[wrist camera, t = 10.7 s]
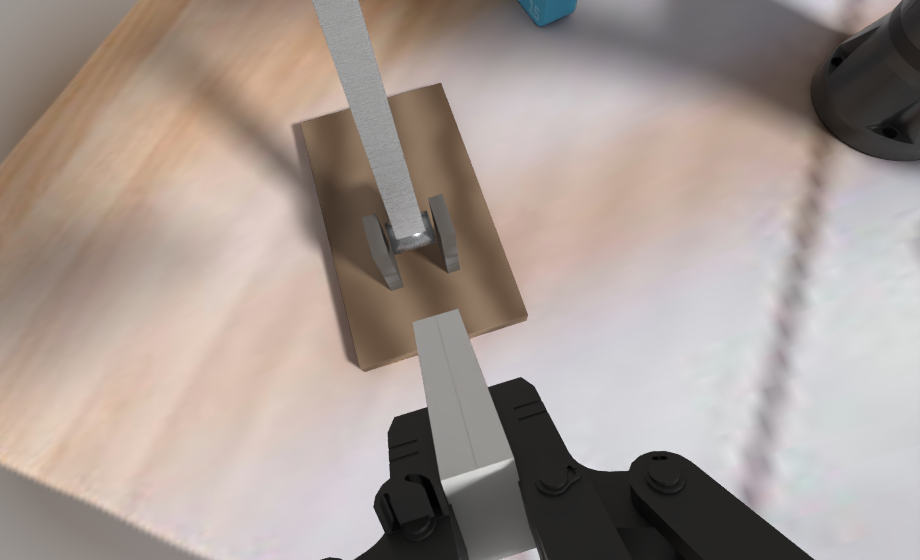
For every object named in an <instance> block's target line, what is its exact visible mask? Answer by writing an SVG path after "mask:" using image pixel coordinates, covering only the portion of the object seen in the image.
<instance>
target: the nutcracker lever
mask: <svg viewBox="0 0 920 560" xmlns="http://www.w3.org/2000/svg"><path fill="white" fill-rule="evenodd" d="M312 2H313V5H314V8H315V10H316V13H317V16H318V19H319V22H320V24H321V27H322V30H323V33H324V36H325V39H326V41H327V44H328V47H329V50H330V53H331V56H332V58H333V61H334V64H335V67H336V70H337V72H338V75H339V78H340V81H341V84H342V87H343V89H344V92H345V95H346V98H347V101H348V103H349V106H350V109H351V112H352V115H353V118H354V120H355V123H356V126H357V129H358V132H359V135H360V137H361V140H362V143H363V146H364V149H365V151H366V154H367V157H368V160H369V163H370V166H371V168H372V171H373V174H374V177H375V180H376V182H377V185H378V188H379V191H380V194H381V197H382V199H383V202H384V205H385V208H386V211H387V214H388V216H389V219H390V221H389V222H385V223H384V224H385V228H386V232H387V235H388V239H389V242H390V245H391V248H392V250H393V253H394V255H397V254H401V253H404V252H407V251H410V250H414V249H417V248H420V247H423V246H427V245H430V244H433V243H436V239H435V235H434V232H433V228H432V225H431V222H430V219H429V216H428V213H427V210H425V211H422V212H420V210H419V207H418V203H417V200H416V196H415V193H414V190H413V186H412V183H411V179H410V176H409V172H408V169H407V165H406V162H405V159H404V155H403V152H402V148H401V145H400V141H399V138H398V134H397V131H396V127H395V124H394V121H393V117H392V114H391V110H390V107H389V103H388V100H387V96H386V93H385V90H384V86H383V83H382V79H381V76H380V72H379V69H378V65H377V62H376V59H375V55H374V52H373V48H372V45H371V41H370V38H369V34H368V31H367V28H366V24H365V21H364V17H363V14H362V10H361V7H360V3H359V0H312Z"/></svg>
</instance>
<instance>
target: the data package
mask: <svg viewBox="0 0 920 560" xmlns="http://www.w3.org/2000/svg"><path fill="white" fill-rule="evenodd" d="M518 2H519V3H520V4H521V5H522V7H523V8H524V9H525V10H526V12H527V13H528V14H529V16H530V17H531V18H532V19H533V21H534V22H535V23H536V24H537V25H538V26H544V25H546V24H549V23H551V22H553V21H555V20H557V19H560V18H562V17H564V16H566V15H568V14H570V13H572V12H573V11H574V10H575V8H576V3H577V0H518Z"/></svg>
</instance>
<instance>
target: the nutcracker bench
mask: <svg viewBox="0 0 920 560" xmlns="http://www.w3.org/2000/svg"><path fill="white" fill-rule="evenodd" d="M387 100H388V103H389V107H390V110H391V114H392V117H393V121H394V124H395V127H396V131H397V134H398V138H399V141H400V145H401V148H402V152H403V155H404V159H405V162H406V165H407V169H408V172H409V176H410V179H411V183H412V186H413V190H414V193H415V196H416V200H417V203H418V207H419V210H420V212H422V211H425V210H427V213H428V216H429V219H430V222H431V225H432V228H433V232H434V235H435V239H436V243H433V244H430V245H427V246H423V247H420V248H417V249H414V250H410V251H407V252H404V253H401V254H397V255H394V253H393V250H392V248H391V245H390V242H389V239H388V235H387V232H386V228H385V224H384V223H385V222H389V221H390V219H389V216H388V214H387V211H386V208H385V205H384V202H383V199H382V197H381V194H380V191H379V188H378V185H377V182H376V180H375V177H374V174H373V171H372V168H371V166H370V163H369V160H368V157H367V154H366V151H365V149H364V146H363V143H362V140H361V137H360V135H359V132H358V129H357V126H356V123H355V120H354V118H353V115H352V112H351V109H347V110H344V111H340V112H337V113H333V114H330V115H326V116H323V117H319V118H316V119H312V120H309V121H305V122H302V123H301V127H302V131H303V135H304V139H305V143H306V148H307V152H308V156H309V160H310V164H311V168H312V172H313V177H314V181H315V185H316V189H317V193H318V197H319V201H320V206H321V210H322V214H323V218H324V222H325V226H326V230H327V234H328V239H329V243H330V247H331V251H332V255H333V259H334V263H335V268H336V272H337V276H338V280H339V284H340V288H341V292H342V297H343V301H344V305H345V309H346V313H347V317H348V321H349V326H350V330H351V334H352V338H353V342H354V346H355V350H356V354H357V359H358V363H359V367H360V369H362V370H363V371H364V372H366V371H369V370H372V369H375V368H379V367H382V366H385V365H388V364H391V363H394V362H397V361H401V360H404V359H407V358H410V357H413V356H416V355H418V350H417V344H416V339H415V333H414V327H413V322H415V321H418V320H422V319H425V318H428V317H432V316H435V315H439V314H442V313H445V312H449V311H452V310H456V309H458V310H459V313H460V315H461V318H462V321H463V323H464V326H465V329H466V331H467V334H468V337H469V339H470V338H473V337H476V336H479V335H482V334H485V333H488V332H492V331H495V330H498V329H501V328H504V327H507V326H510V325H514V324H517V323H520V322H523V321H526V320H527V316H528V314H527V311H526V308H525V306H524V303H523V300H522V298H521V295H520V292H519V290H518V287H517V284H516V282H515V279H514V276H513V274H512V271H511V268H510V266H509V263H508V260H507V258H506V255H505V252H504V250H503V247H502V244H501V242H500V239H499V236H498V234H497V231H496V228H495V226H494V223H493V220H492V218H491V215H490V212H489V210H488V207H487V204H486V202H485V199H484V196H483V194H482V191H481V188H480V186H479V183H478V180H477V178H476V175H475V172H474V170H473V167H472V164H471V162H470V159H469V156H468V154H467V151H466V148H465V146H464V143H463V140H462V138H461V135H460V132H459V130H458V127H457V124H456V122H455V119H454V116H453V114H452V111H451V108H450V106H449V103H448V100H447V98H446V95H445V92H444V90H443V87H442V84H441V83H438V84H435V85H431V86H428V87H424V88H421V89H417V90H414V91H410V92H407V93H403V94H400V95H396V96H393V97H389V98H387Z"/></svg>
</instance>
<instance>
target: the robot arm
mask: <svg viewBox="0 0 920 560" xmlns="http://www.w3.org/2000/svg"><path fill="white" fill-rule="evenodd" d="M811 92H812V100H813V103H814V106H815V109H816V111H817V113H818V115H819V117H820V118H821V120H822V121H823V122H824V124H825V125H826V126H827V127H828V128H829V129H830V130H831V132H833V133H834V134H835V135H836V136H837V137H838V138H840V139H841V140H842V141H844V142H845V143H847V144H848V145H850V146H852V147H853V148H855V149H857V150H859V151H862V152H864V153H866V154H869V155H872V156H875V157H879V158H883V159H889V160H897V161H911V160H919V159H920V0H902V1H901V2H900V3H899V4H898V5H897V6H896V7H895V9H894V10H893V11H891V12H890V13H888V14H887V15H885V16H883V17H882V18H880V19H879V20H877V21H875V22H874V23H872V24H871V25H869V26H867V27H866V28H864V29H863V30H861V31H860V32H858V33H856V34H855V35H853V36H852V37H850V38H848V39H847V40H845V41H844V42H842V43H841V44H840V45H839V46H837V47H836V48H835V49H834V50H833V51H832V52H831V53H830V55H829V56H828V57H827V58H826V59H825V60H824V61H823V63H822V64H821V65H820V66H819V67H818V69H817V71H816V73H815V75H814V77H813V81H812V88H811ZM413 327H414V333H415V339H416V344H417V350H418V356H419V361H420V367H421V373H422V378H423V384H424V390H425V395H426V401H427V407H426V408H423V409H420V410H416V411H413V412H410V413H407V414H403V415H400V416H397V417H394V419H393V422H392V424H391V426H390V429H389V431H388V448H389V462H390V464H389V467H390V479H389V480H388V481H386V482H385V483H384V484H383V485H382V486H381V488H380V490H379V491H378V493H377V494H376V496H375V501H374V506H373V507H374V509H375V512H376V514H377V516H378V518H379V521H380V523H381V525H382V527H383V529H384V532H385V533H384V535H383V536H382V537H381V539H380V540H379V541H378V542H377V543H376V544H375V545H374V546H373V547H371V548H370V549H369V550H368V551H366V552H365V553H363V554H362V555H360V556H359V557H357V558H356V559H354V560H500V559H503V558H506V557H509V556H512V555H515V554H518V553H521V552H524V551H527V550H530V549H533V548H536V547H537V550H538V553H539V556H540V560H814V559H813V558H812V557H810V556H809V555H808V554H807V553H805V552H804V551H803V550H802V549H800V548H799V547H798V546H797V545H795V544H794V543H793V542H792V541H790V540H789V539H788V538H787V537H785V536H784V535H783V534H781V533H780V532H779V531H778V530H776V529H775V528H774V527H773V526H771V525H770V524H769V523H768V522H766V521H765V520H764V519H763V518H761V517H760V516H759V515H758V514H756V513H755V512H754V511H753V510H751V509H750V508H749V507H748V506H746V505H745V504H744V503H743V502H741V501H740V500H739V499H738V498H736V497H735V496H734V495H732V494H731V493H730V492H729V491H727V490H726V489H725V488H724V487H722V486H721V485H720V484H719V483H717V482H716V481H715V480H714V479H712V478H711V477H710V476H709V475H707V474H706V473H705V472H704V471H702V470H701V469H700V468H699V467H697V466H696V465H695V464H694V463H692V462H691V461H689V460H688V459H686V458H684V457H682V456H681V455H679V454H675V453H671V452H667V451H652V452H649V453H646V454H643V455H641V456H639V457H638V458H637V459H636V460H635V461H634V462H632V464H631V466H630V469H629V471H612V472H608V471H597V470H593V469H589V468H587V467H585V466H583V465H581V464H579V463H578V462H577V461H576V460H574V459H573V457H572V456H571V455H570V453H569V452H568V450H567V448H566V446H565V444H564V442H563V440H562V438H561V436H560V434H559V433H558V431H557V429H556V427H555V425H554V423H553V421H552V419H551V417H550V415H549V413H548V412H547V410H546V408H545V406H544V404H543V402H542V401H541V398H540V396H539V394H538V392H537V390H536V389H535V387H534V386H533V385H532V384H530V383H529V382H527V381H526V380H524V379H523V378H522V377H520V378H516V379H513V380H510V381H507V382H503V383H500V384H497V385H494V386H490V387H487V385H486V382H485V379H484V377H483V374H482V371H481V369H480V366H479V363H478V361H477V358H476V355H475V353H474V350H473V347H472V345H471V342H470V339H469V337H468V334H467V331H466V329H465V326H464V323H463V321H462V318H461V315H460V313H459V310H458V309H456V310H452V311H449V312H445V313H442V314H439V315H435V316H432V317H428V318H425V319H422V320H418V321H415V322H413ZM322 560H342V559H340V558H331V557H329V558H325V559H322Z"/></svg>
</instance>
